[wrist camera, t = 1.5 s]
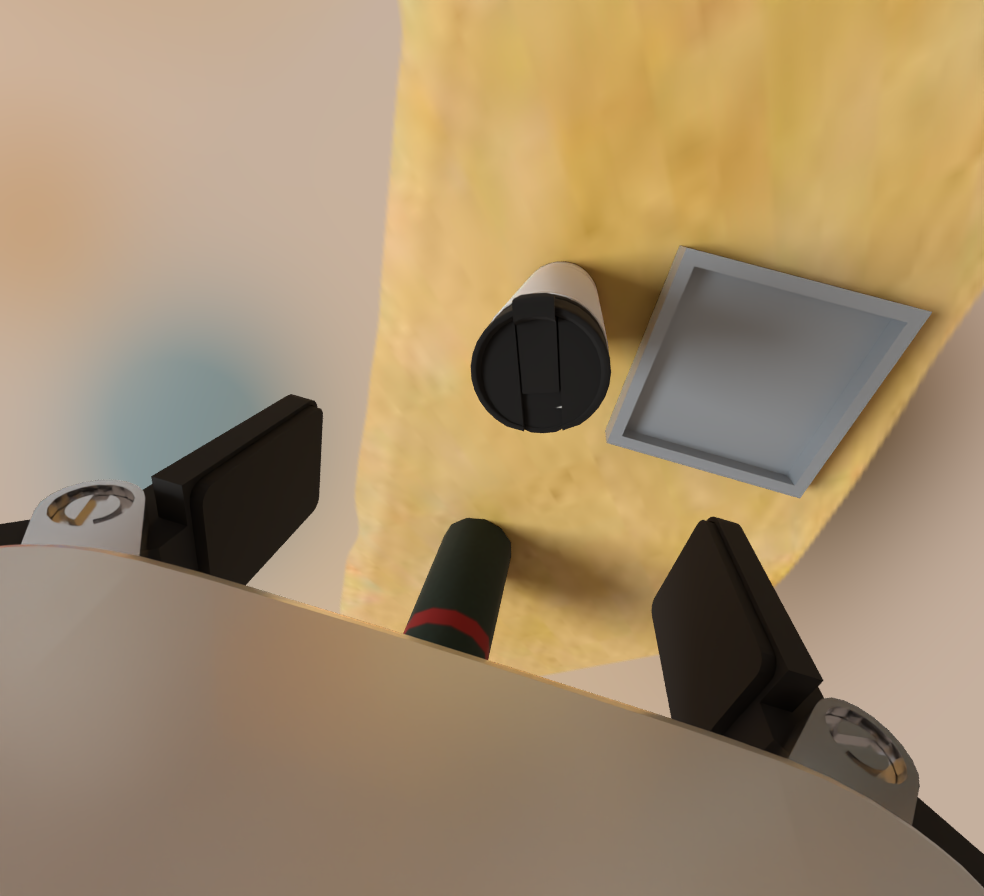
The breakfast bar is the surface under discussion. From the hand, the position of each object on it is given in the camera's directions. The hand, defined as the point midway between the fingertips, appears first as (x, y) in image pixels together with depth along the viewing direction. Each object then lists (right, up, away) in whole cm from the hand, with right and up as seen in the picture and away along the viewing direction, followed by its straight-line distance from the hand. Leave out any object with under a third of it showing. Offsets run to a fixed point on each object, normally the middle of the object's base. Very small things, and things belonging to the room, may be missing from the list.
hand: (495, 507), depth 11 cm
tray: (+20, +7, +26) cm, 34 cm away
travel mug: (+5, +14, +26) cm, 30 cm away
